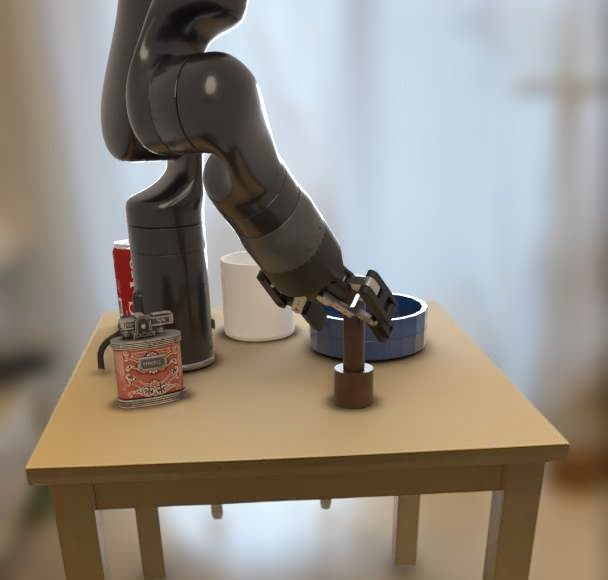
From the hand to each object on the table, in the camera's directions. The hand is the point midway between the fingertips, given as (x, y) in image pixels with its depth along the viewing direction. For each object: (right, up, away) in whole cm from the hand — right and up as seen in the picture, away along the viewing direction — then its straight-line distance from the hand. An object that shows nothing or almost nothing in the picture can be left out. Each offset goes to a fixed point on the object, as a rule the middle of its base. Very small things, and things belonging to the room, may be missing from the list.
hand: (353, 329), depth 97 cm
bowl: (+3, +3, +23) cm, 23 cm away
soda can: (-30, +8, +34) cm, 46 cm away
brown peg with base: (0, -7, +4) cm, 8 cm away
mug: (-12, +7, +31) cm, 34 cm away
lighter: (-23, -7, +6) cm, 25 cm away
